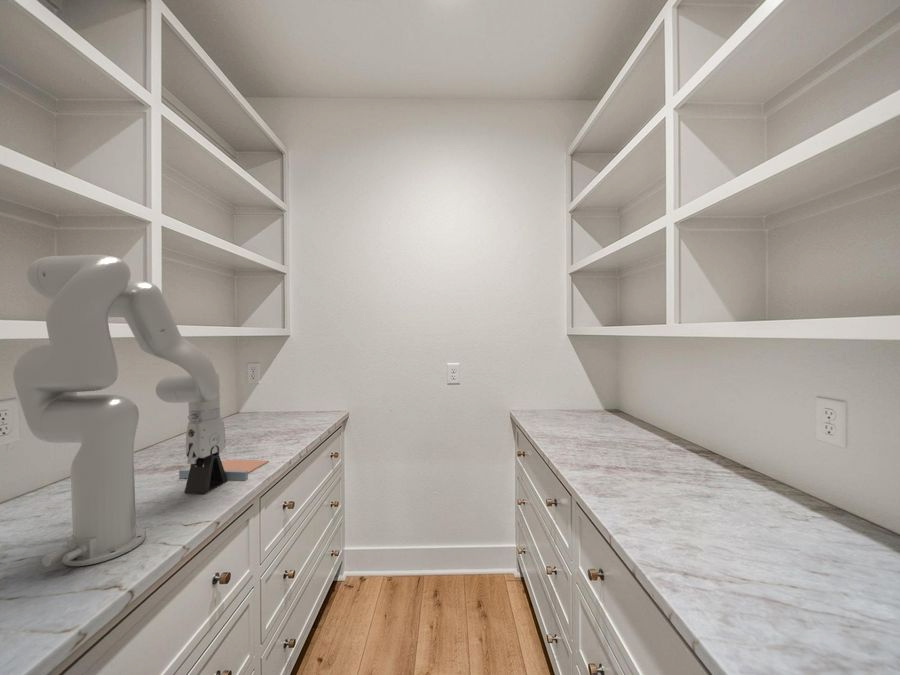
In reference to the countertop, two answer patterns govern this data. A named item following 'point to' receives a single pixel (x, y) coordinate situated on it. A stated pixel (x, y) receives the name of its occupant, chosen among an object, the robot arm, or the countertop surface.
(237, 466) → the mat
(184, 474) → the acrylic wall
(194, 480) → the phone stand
